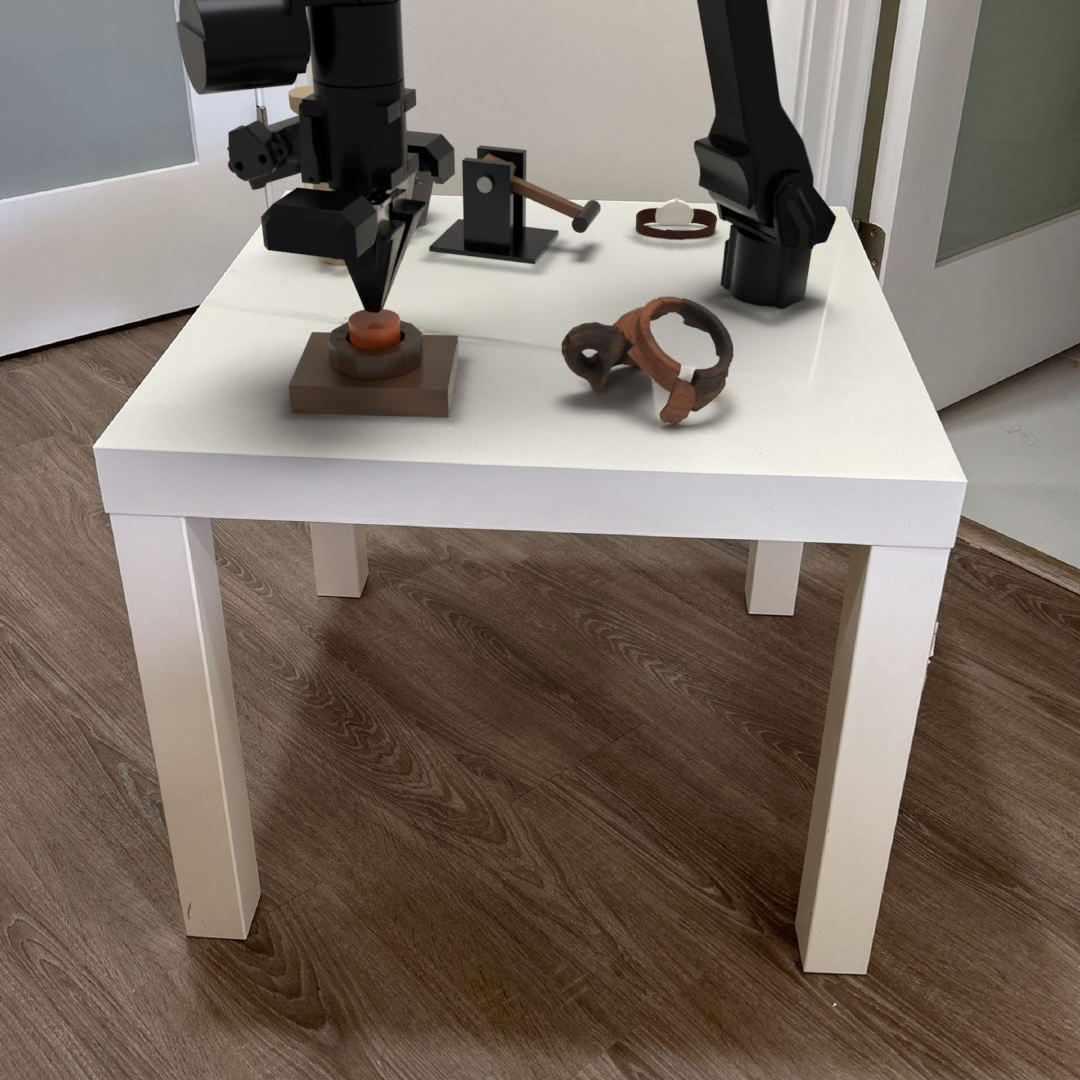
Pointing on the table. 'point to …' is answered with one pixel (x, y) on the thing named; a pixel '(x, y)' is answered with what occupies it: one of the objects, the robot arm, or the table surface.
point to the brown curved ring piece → (652, 354)
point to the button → (374, 329)
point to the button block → (376, 375)
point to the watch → (675, 220)
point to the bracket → (494, 212)
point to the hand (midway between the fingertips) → (374, 310)
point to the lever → (556, 201)
